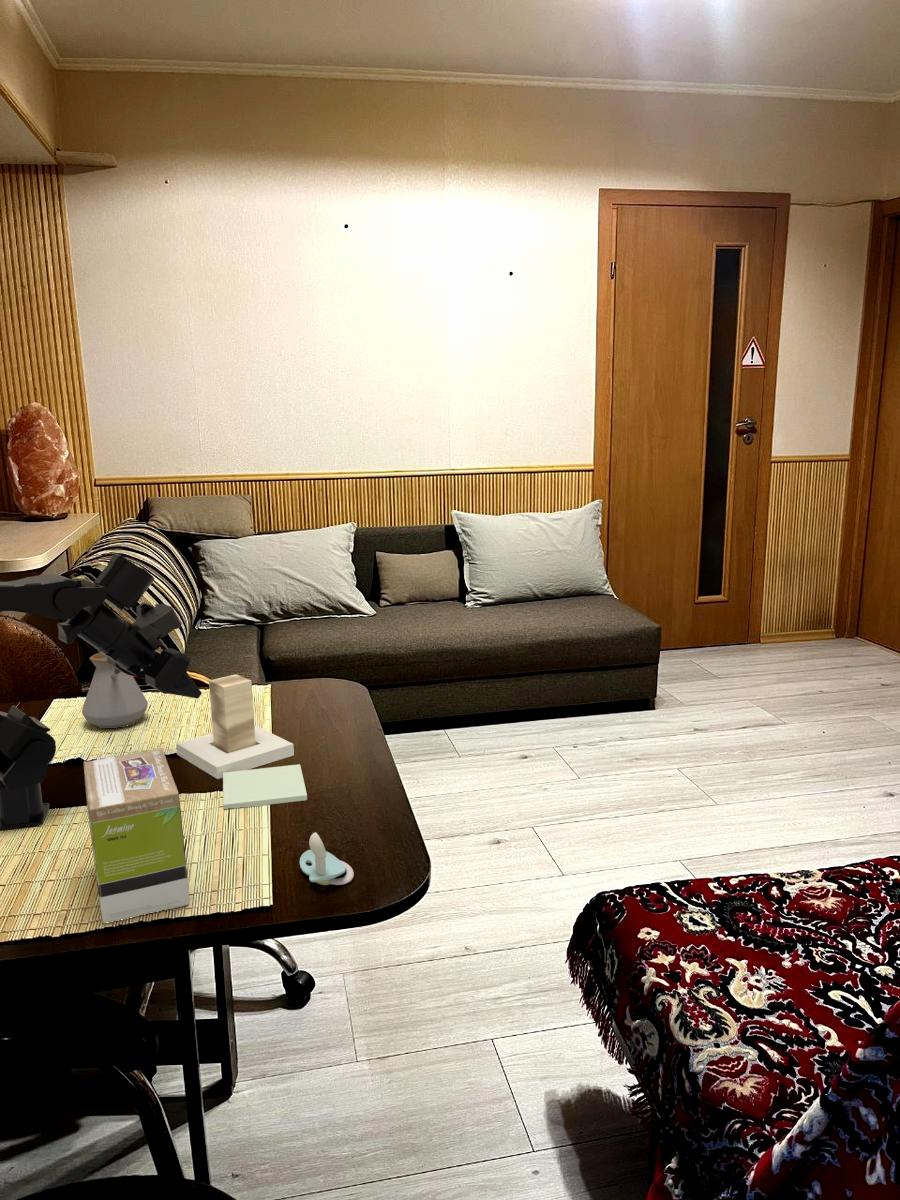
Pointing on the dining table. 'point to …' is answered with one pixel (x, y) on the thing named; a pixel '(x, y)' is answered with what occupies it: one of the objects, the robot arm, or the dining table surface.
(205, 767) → the pocket holder
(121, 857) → the tea box
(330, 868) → the pacifier
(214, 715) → the birch block
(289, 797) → the sage mat
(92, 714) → the coffee pot
